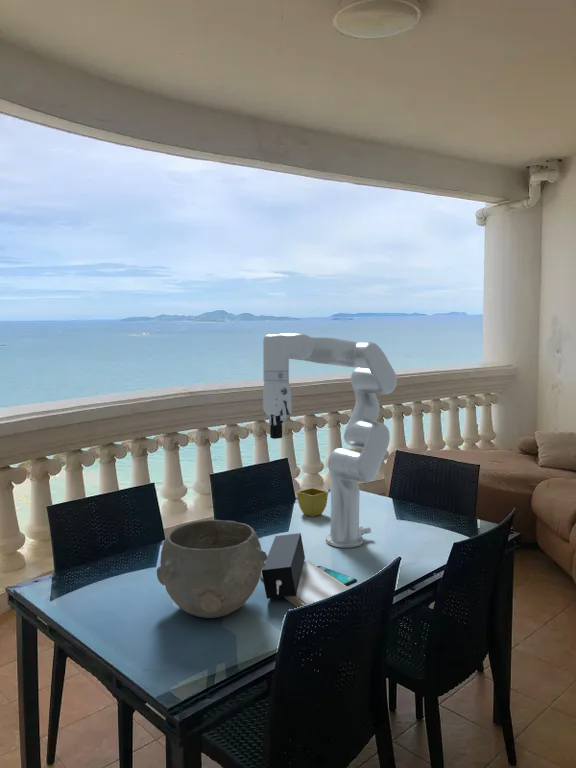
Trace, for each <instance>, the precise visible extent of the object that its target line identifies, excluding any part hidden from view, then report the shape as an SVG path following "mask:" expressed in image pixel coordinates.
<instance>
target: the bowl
mask: <svg viewBox="0 0 576 768" xmlns="http://www.w3.org/2000/svg"><path fill="white" fill-rule="evenodd" d="M267 556H268V555H267V553H266V551H264V550H262V546H261V542H260V539H259V537H258V535H257V532H256V531H255V530H254V528H253V527H251V526H250V525H249V524H246V523H242V522H239V521H235V520H223V519H222V520H221V519H207V520H205V519H203V520H199V521H194V522H189V523H185V524H181V525H179V526H177V527H175V528H174V529H172V530H171V531H169V533H168V535H166V537H165V539H164V540H163V544H162V547H161V553H160V566H158V567H157V569H156V577H157V580H158V581H159V583H160V584H161V585H162V586H165V591H166V592H167V595H168V596H169V597H170V598H171V600H172V601H173V602H174V603H175V605H176V606H178V607H179V608H180V609H181V610H183V612H186V613H187V614H190V615H192V616H195V617H199V618H203V619H204V618H205V619H212V618H214V619H215V618H221V617H224V616H228V615H230V614H231V613H234V612H235V611H237V610H238V609H240V608H241V607H243V606H244V605H245V604H246V602H247V601H248V599H250V597H251V596H252V595H253V593H254V592H255V590H256V588H257V585H258V584H259V582H260V579H261V578H260V574H261V570H262V568H263V567H265V561H266V560H267Z"/></svg>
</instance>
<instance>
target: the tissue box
mask: <svg viewBox="0 0 576 768" xmlns="http://www.w3.org/2000/svg"><path fill="white" fill-rule="evenodd" d="M303 544H304V543H303V538H302V533H301V532H298V533H297V532H296V533H290V534H283V535H276V536H275V537H274V539H273V541H272V544H271V547H270V549H269V551H268V555H267V560H266V561H265V562H264V563H265V567H263V568H262V576H263V586H264V591H265V592H264V593H265V596H266V599H267V600H269V599H276V598H277V599H278V598H284V597H287V596H296V594H297V589H298V584H299V580H300V576H301V572H302V568H303V564H304V561H306V560H305V559H306V556H305V549H304V545H303Z"/></svg>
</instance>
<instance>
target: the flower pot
mask: <svg viewBox="0 0 576 768" xmlns="http://www.w3.org/2000/svg"><path fill="white" fill-rule="evenodd" d="M296 493H297V494H296V495H297V502H298V506H299V508H300V510H301V512H302V513H303V515H306V516H309V517H312V518H313V517H316V516H320V515H322V514H323V513H324V511H325V510H326V507H327V503H328V496H329V491H326V490H322V489H319V488H315V487H310V488H306V489H302V490H298V491H296Z"/></svg>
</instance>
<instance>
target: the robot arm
mask: <svg viewBox="0 0 576 768" xmlns="http://www.w3.org/2000/svg"><path fill="white" fill-rule="evenodd" d="M262 343H263V347H262V351H263V352H262V354H263V361H262V364H263V374H262V376H263V380H262V381H263V391H262V393H263V394H262V410H263V412H264V413H265V416H266V417H267V418H268V419H269V421H268V423H269V427H270V428H269V430H270V431H269V432H270V434H269V435H270V439H273V440H276V439H282V438H283V425H284V422H285V421H287V420H288V418H287V416H291V415H292V413H293V410H292V409H293V408H292V407H293V406H292V405H293V404H292V393H291V392H292V390H291V385H290V384H291V383H290V360H296V361H297V360H298V361H306V362H311V363H316V364H321V365H331V366H332V365H333V366H340V367H346V368H355V369H354V370H353V371H352V372H351V375H350V383H351V386H352V389H353V393H354V396H355V397H354V398H355V405H354V407H353V410H352V412H351V416H350V418H349V419H348V420H349V421H348V423H347V425H346V426H345V427H346V428H345V430H344V434H343V440H344V442H345V443H346V444H347V445H348V446H351V447H354V448H357V449H362V450H361V451H360V450H356V449H354V448H353V449H352V448H347V447H340V448H339V447H338V448H335V449H334V450H333V451H331V453H330V454H329V456H328V459H327V467H328V473H329V479H330V533H329V534H327V535H326V536H325V542H326V544H328V545H329V546H333V547H336V548H344V549H347V548H349V549H350V548H356V547H360V546H362V545H363V544H364V537H363V536H364V534H365V535H366V534H371V533H372V530H371V527H363V526H360V494H361V493H360V492H361V491H360V485H359V483H358V482H362V483H369V482H372V481H373V480H374V479H375V478H376V476H377V475H378V472H379V471H380V468H381V465H382V464H383V461H384V458H385V455H386V453H387V451H388V447H389V445H390V437H391V436H390V434H391V433H390V430H389V428H388V427H387V426H386V424H384V423H382V422H378V421H377V420H378V417H379V414H380V409H381V408H380V407H381V406H380V402H379V400H378V397H377V394H378V395H388V394H391V393H393V391H395V389H396V388H397V383H398V378H397V374H396V372H395V369H394V368H393V366H392V365H391V362H390V361H389V359H388V357H387V355H386V354H385V352H384V351H383V349H382V348H381V347H380V346H379V345H378V344H376V343H375V342H372V341H371V342H367V341H365V342H364V341H354V340H348V339H347V340H346V339H340V338H335V337H327V336H326V337H325V336H319V337H318V336H317V337H315V336H314V337H313V336H312V337H311V336H310V335H308V334H305V333H283V332H282V333H279V334H266V335H265V336H264V337H263V341H262Z"/></svg>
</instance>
